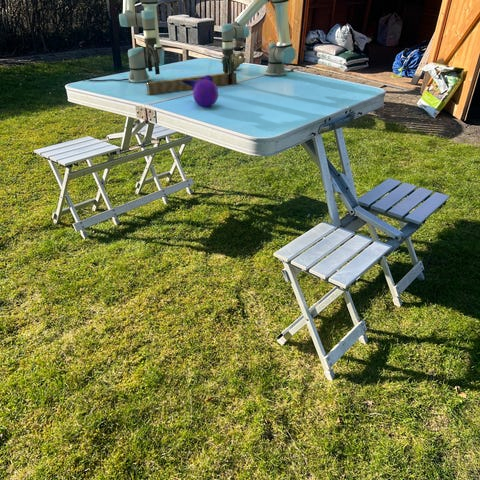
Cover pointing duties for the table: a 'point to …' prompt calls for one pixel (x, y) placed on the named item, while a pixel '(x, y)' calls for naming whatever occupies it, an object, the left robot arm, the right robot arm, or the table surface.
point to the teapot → (237, 60)
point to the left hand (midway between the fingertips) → (154, 72)
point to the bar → (178, 85)
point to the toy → (204, 91)
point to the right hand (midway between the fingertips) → (228, 83)
